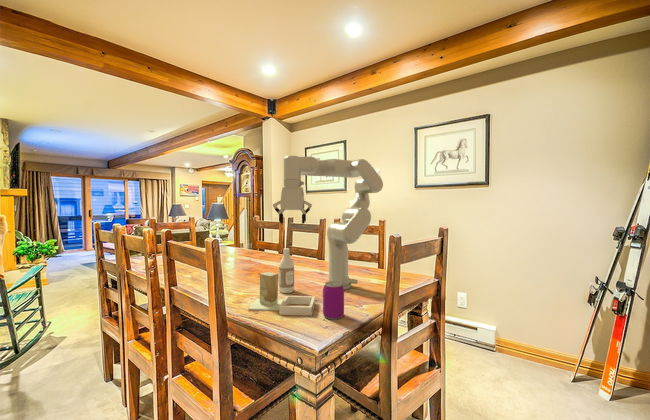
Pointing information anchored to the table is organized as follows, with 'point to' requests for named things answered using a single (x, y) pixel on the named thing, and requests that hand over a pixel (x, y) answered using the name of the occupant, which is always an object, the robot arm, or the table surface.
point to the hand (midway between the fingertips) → (292, 223)
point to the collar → (297, 309)
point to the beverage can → (333, 300)
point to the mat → (265, 306)
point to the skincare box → (268, 288)
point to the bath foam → (286, 273)
